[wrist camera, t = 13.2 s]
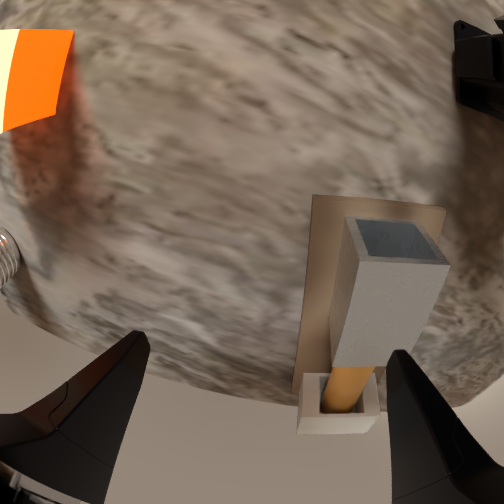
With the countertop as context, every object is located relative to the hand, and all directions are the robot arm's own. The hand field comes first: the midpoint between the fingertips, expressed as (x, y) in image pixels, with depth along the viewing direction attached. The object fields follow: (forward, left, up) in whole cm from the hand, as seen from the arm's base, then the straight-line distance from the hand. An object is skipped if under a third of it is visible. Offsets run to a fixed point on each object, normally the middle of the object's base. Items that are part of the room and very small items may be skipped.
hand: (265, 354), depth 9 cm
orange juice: (+21, -14, -12) cm, 28 cm away
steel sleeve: (-7, +4, -12) cm, 15 cm away
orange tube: (-7, +14, -10) cm, 19 cm away
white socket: (-7, +20, -12) cm, 25 cm away
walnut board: (-7, +11, -12) cm, 18 cm away
